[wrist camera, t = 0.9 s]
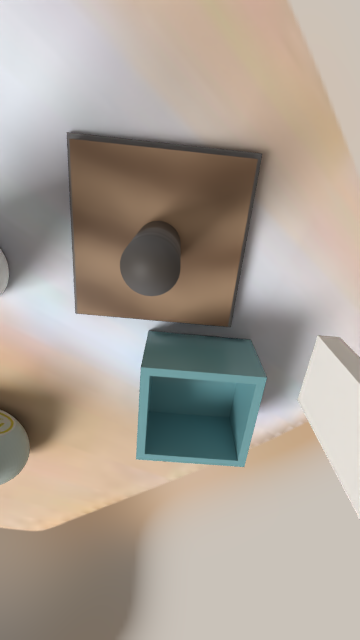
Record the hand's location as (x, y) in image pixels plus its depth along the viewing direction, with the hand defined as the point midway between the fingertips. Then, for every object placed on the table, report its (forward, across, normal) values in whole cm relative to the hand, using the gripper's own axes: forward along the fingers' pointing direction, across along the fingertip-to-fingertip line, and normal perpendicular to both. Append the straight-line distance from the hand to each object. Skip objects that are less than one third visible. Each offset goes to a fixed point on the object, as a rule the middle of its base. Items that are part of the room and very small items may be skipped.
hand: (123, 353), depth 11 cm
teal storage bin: (+20, +5, -15) cm, 26 cm away
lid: (+20, 0, 0) cm, 20 cm away
